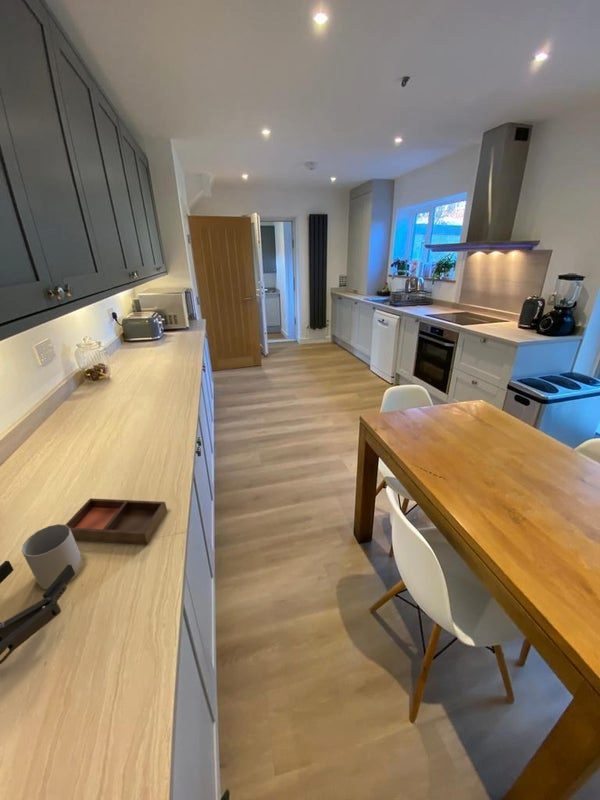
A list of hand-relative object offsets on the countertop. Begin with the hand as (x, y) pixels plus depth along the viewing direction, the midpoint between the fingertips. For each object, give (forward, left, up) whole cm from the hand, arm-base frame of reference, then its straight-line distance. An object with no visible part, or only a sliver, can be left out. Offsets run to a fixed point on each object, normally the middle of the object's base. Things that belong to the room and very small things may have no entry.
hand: (40, 567), depth 67 cm
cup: (0, +3, -6) cm, 7 cm away
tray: (+5, +17, -6) cm, 19 cm away
